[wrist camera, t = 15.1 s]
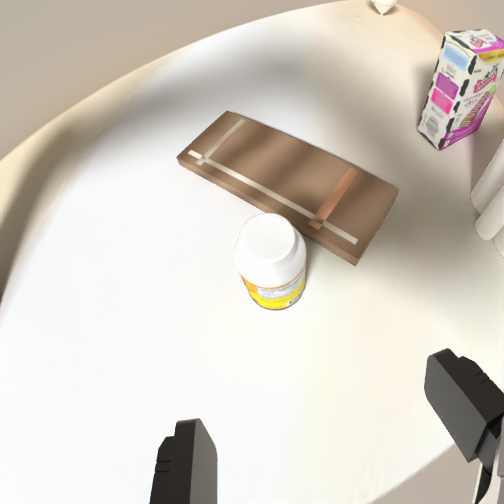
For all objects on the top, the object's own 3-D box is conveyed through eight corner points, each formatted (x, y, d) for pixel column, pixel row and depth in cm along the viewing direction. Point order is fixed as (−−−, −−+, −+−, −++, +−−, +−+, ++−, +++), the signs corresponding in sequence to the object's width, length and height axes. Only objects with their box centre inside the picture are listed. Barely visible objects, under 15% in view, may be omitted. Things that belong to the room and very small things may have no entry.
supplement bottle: (250, 259, 33) (231, 203, 24) (304, 259, 32) (306, 201, 23) (246, 312, 31) (223, 273, 22) (304, 313, 30) (307, 273, 21)
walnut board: (180, 165, 40) (176, 156, 39) (229, 119, 43) (226, 110, 41) (355, 265, 31) (358, 258, 30) (395, 198, 34) (399, 189, 32)
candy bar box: (440, 154, 36) (477, 53, 21) (415, 130, 38) (441, 30, 23) (479, 131, 37) (514, 47, 22) (457, 111, 39) (484, 26, 25)
